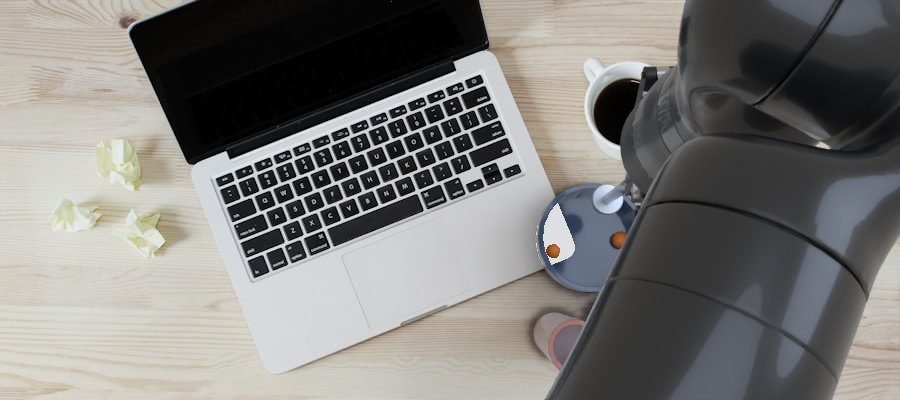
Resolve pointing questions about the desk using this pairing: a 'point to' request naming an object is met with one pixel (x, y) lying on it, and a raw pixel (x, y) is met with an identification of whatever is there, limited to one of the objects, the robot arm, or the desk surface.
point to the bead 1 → (553, 251)
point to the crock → (557, 336)
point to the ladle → (609, 197)
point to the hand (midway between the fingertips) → (637, 178)
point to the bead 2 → (619, 239)
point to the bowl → (585, 238)
